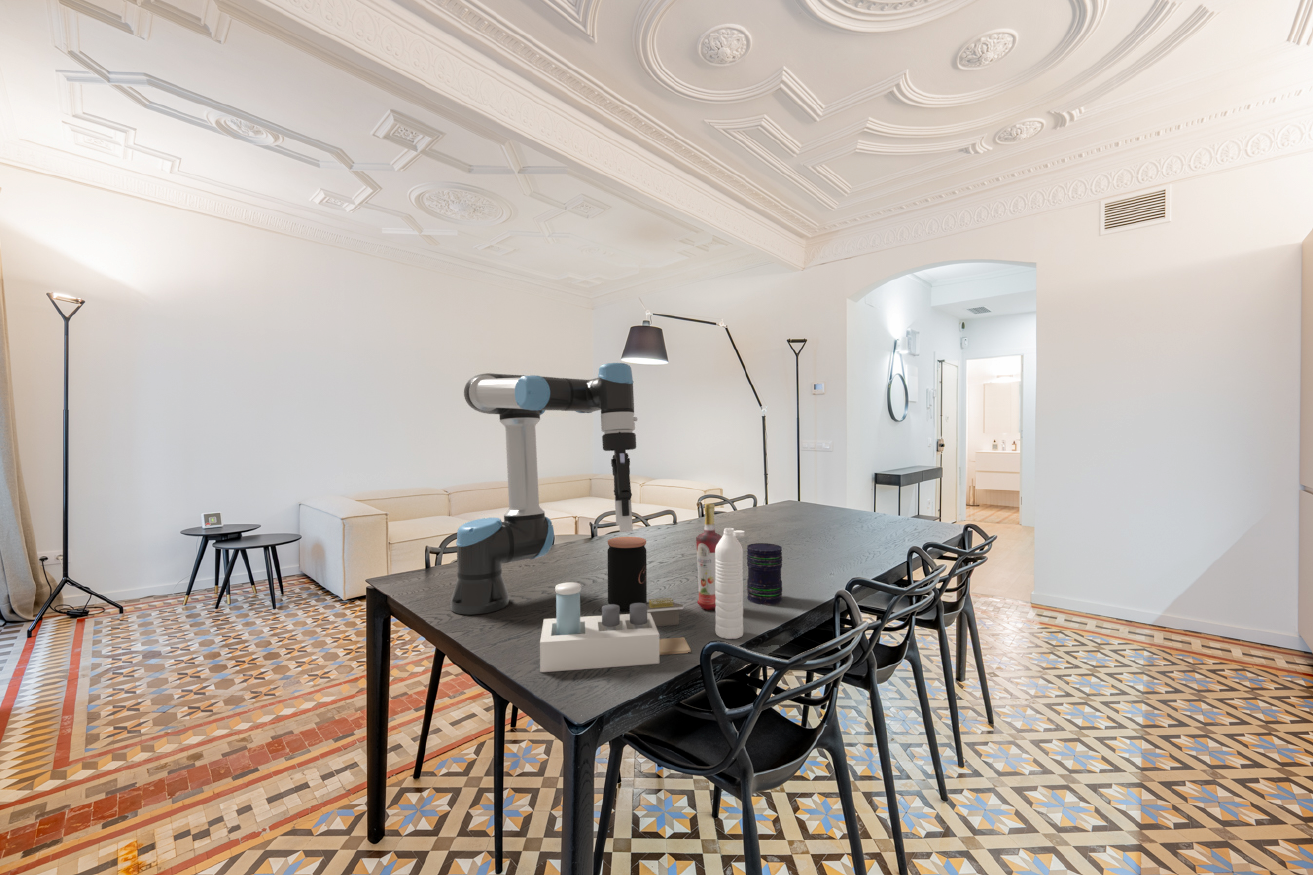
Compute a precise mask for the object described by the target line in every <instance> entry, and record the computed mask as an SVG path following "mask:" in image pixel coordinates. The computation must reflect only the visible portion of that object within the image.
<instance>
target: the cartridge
mask: <svg viewBox="0 0 1313 875" xmlns="http://www.w3.org/2000/svg"><path fill="white" fill-rule="evenodd" d="M554 587H555V588H554V590H555V593H556V595H555V600H556V602H555V608H556V609H555V610H556V612H555V613H556V617H555V618H556V626H557V635H571V634H580V617H581V591H582V585H581V584H580V583H578V582H562V583H558V584H556V585H555V586H554Z"/></svg>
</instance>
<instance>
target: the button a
mask: <svg viewBox="0 0 1313 875" xmlns="http://www.w3.org/2000/svg"><path fill="white" fill-rule="evenodd" d="M620 612H621V611H620V606H618V605H615V604H608V603H607V604H605V605H602V606H601V616H602V625H603V626H606V631H611V630H616V626H617V625H619V624H620V615H621V613H620Z"/></svg>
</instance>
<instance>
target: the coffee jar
mask: <svg viewBox="0 0 1313 875" xmlns="http://www.w3.org/2000/svg"><path fill="white" fill-rule="evenodd" d="M646 545H647V540H646V538H643V537H639V536H638V537H637V536H617V537H612V538H610V539H608V540H607V546H608V548H607V605H608V604H615V605H618V606H620V612H623V613H624V612H625V613H627V612H629V613H630V605H631V604H633V603H645V604H647V600H648V599H647V598H648V597H647V596H648V594H647V593H648V591H647V587H648V586H647V584H648V583H647V577H648V576H647V575H648V574H647V573H648V572H647V568H648V567H647V548H646Z"/></svg>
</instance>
